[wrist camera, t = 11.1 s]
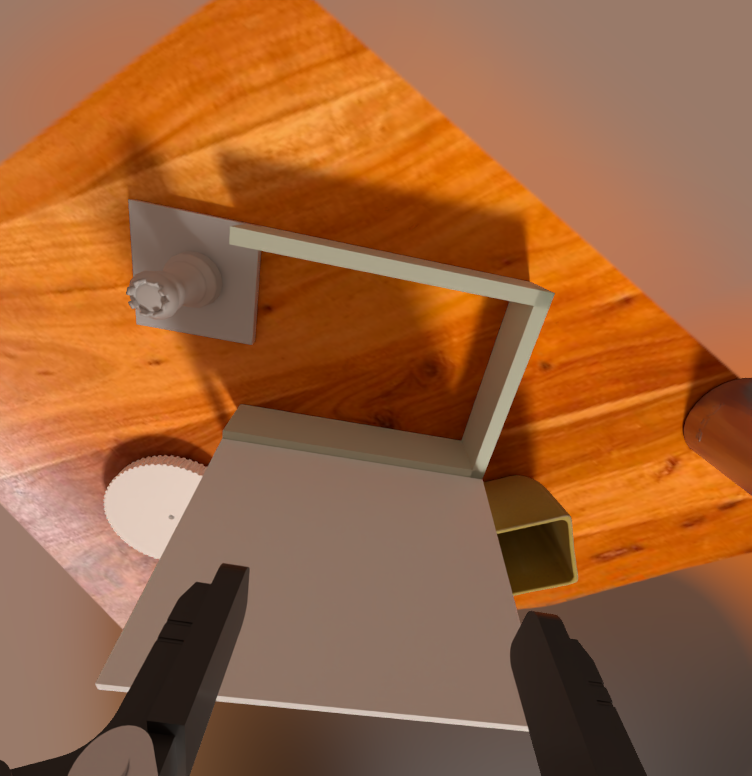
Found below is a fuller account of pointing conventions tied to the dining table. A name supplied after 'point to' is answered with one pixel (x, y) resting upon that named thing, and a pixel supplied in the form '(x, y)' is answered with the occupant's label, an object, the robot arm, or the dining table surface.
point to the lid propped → (344, 588)
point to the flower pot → (532, 534)
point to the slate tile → (211, 238)
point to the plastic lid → (151, 500)
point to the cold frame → (392, 444)
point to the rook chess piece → (176, 286)
